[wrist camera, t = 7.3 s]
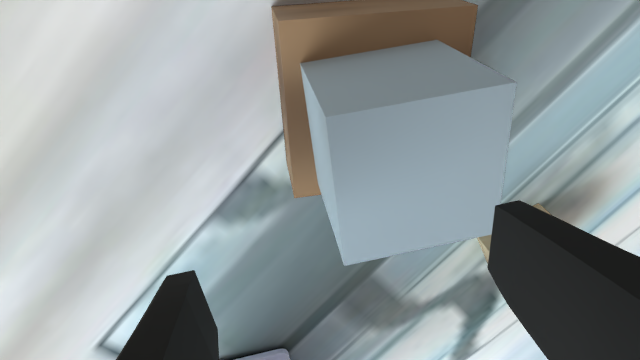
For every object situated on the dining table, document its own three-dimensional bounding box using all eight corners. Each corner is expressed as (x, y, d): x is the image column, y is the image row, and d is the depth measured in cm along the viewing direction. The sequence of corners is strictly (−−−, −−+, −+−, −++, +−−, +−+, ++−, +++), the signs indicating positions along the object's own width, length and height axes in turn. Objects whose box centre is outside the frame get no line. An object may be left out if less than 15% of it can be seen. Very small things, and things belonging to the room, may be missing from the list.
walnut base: (423, 142, 21) (453, 177, 18) (285, 159, 20) (294, 198, 17) (436, -8, 17) (477, 5, 14) (270, 5, 17) (277, 20, 14)
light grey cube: (433, 160, 17) (496, 233, 13) (317, 183, 17) (344, 266, 13) (437, 39, 15) (517, 82, 11) (299, 63, 14) (325, 117, 10)
